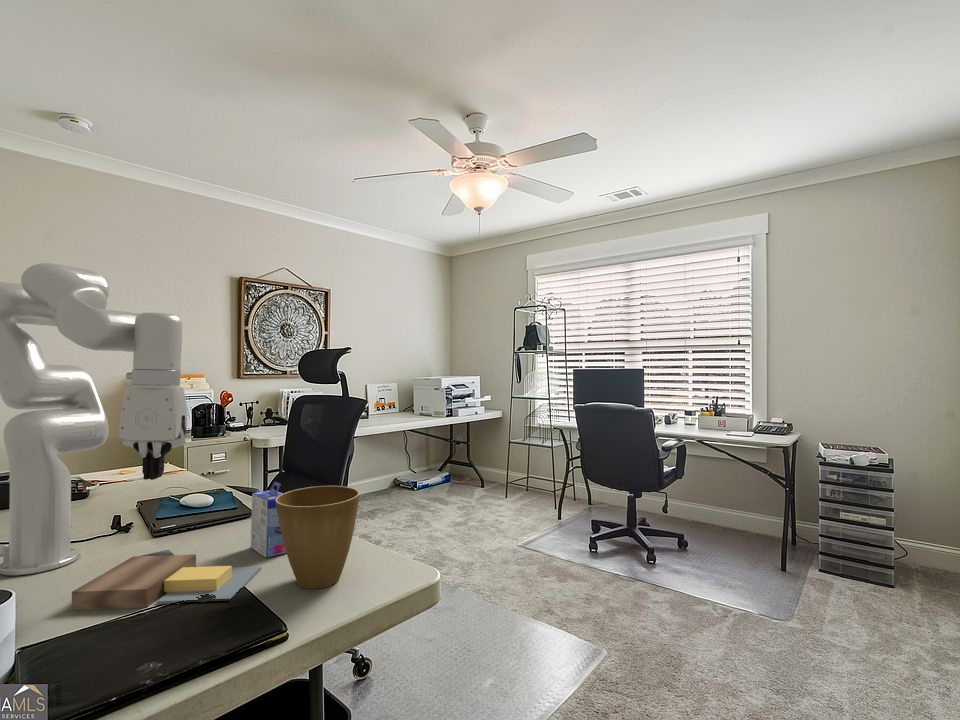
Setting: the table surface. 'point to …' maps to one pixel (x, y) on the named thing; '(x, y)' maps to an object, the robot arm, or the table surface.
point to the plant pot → (317, 531)
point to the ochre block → (198, 579)
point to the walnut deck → (130, 583)
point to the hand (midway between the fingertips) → (153, 477)
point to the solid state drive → (160, 553)
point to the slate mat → (224, 592)
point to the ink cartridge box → (266, 523)
